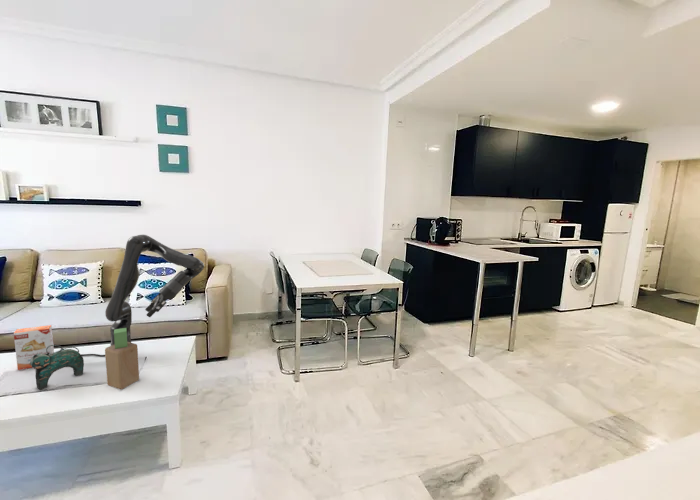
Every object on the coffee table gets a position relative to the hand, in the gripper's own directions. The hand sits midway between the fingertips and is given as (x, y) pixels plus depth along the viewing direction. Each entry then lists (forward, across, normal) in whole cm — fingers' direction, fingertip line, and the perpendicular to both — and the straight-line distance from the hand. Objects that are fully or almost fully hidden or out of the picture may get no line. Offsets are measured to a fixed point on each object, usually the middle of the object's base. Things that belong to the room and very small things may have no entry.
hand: (147, 313), depth 167 cm
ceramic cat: (+51, -17, -2) cm, 54 cm away
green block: (+19, 0, +2) cm, 19 cm away
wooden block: (+33, 0, +16) cm, 37 cm away
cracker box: (+60, -42, -11) cm, 74 cm away
